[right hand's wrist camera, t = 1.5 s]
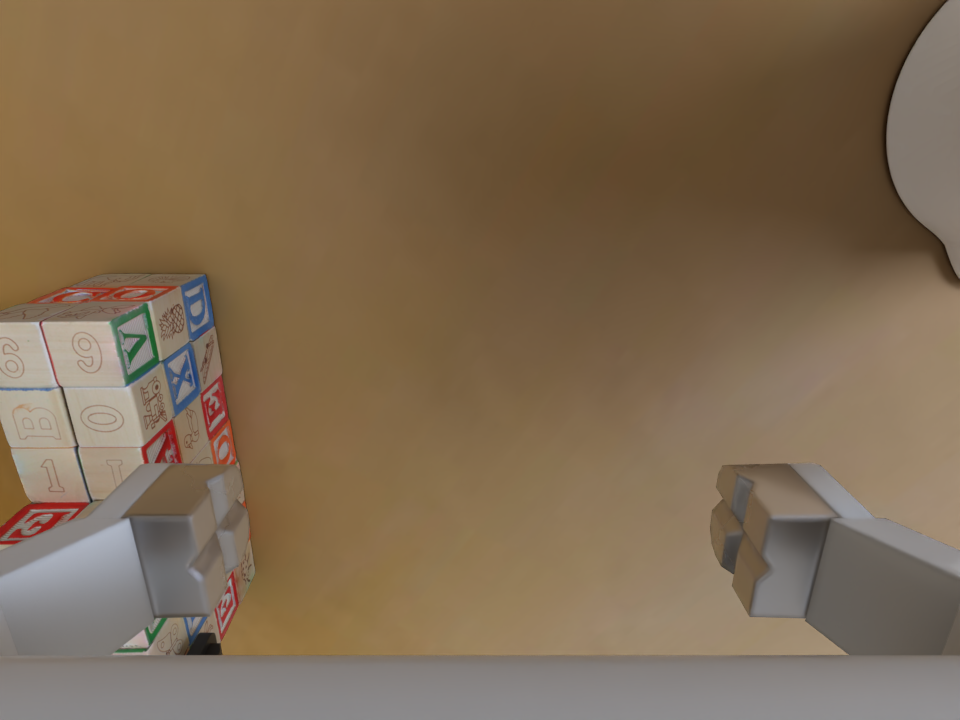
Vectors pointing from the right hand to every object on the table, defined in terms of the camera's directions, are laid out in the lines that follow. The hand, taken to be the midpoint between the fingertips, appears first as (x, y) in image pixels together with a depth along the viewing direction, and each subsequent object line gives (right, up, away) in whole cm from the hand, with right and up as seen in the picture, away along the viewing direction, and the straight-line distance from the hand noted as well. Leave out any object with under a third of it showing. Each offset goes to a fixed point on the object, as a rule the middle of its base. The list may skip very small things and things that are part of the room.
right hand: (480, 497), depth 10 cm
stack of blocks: (-18, -3, +27) cm, 33 cm away
